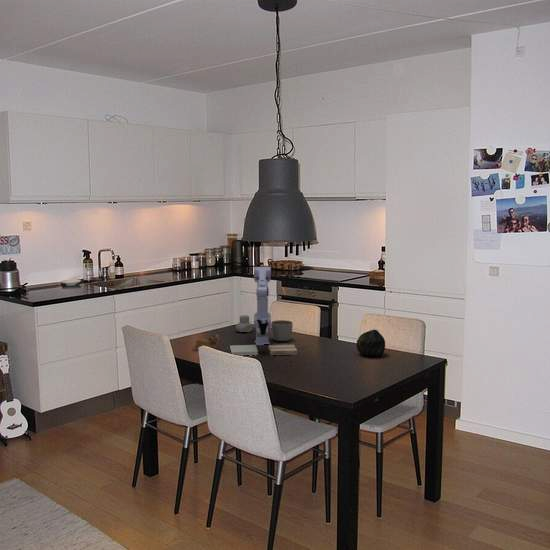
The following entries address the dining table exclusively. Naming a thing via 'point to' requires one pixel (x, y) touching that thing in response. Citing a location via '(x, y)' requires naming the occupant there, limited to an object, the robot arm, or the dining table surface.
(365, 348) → the squash
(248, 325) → the air freshener
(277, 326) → the planter
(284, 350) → the stand
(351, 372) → the dining table surface
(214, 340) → the fried chicken drumstick
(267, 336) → the block
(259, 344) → the robot arm
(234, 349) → the stand
